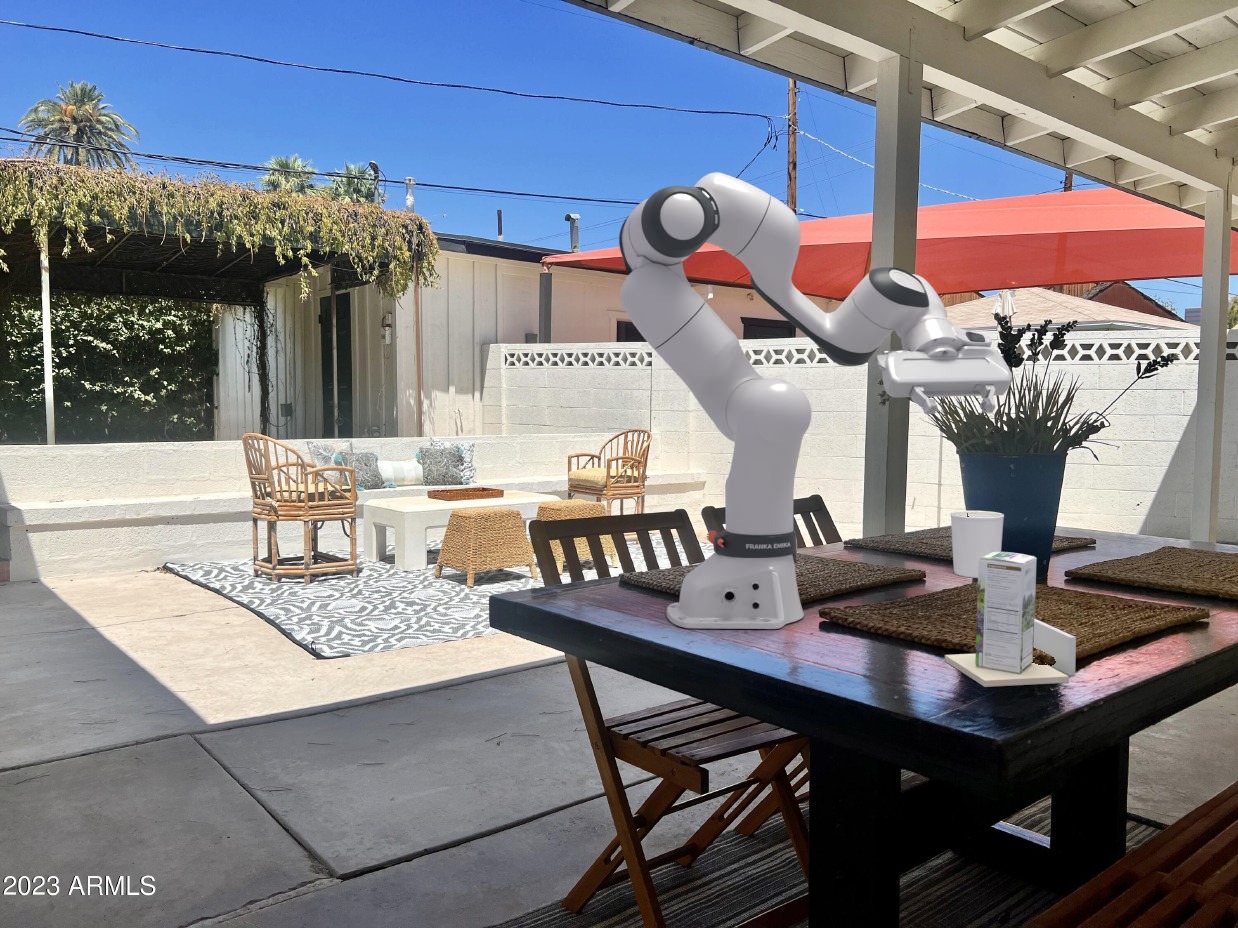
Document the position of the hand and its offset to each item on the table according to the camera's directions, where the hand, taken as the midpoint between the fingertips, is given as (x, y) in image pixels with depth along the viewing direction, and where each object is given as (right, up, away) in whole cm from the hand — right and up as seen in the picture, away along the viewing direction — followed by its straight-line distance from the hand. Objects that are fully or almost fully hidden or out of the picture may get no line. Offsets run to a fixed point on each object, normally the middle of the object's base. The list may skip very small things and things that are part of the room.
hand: (960, 410), depth 141 cm
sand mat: (-3, -35, -23) cm, 42 cm away
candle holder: (+17, -30, +38) cm, 52 cm away
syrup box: (-3, -35, -23) cm, 42 cm away
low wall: (+4, -35, -17) cm, 39 cm away
